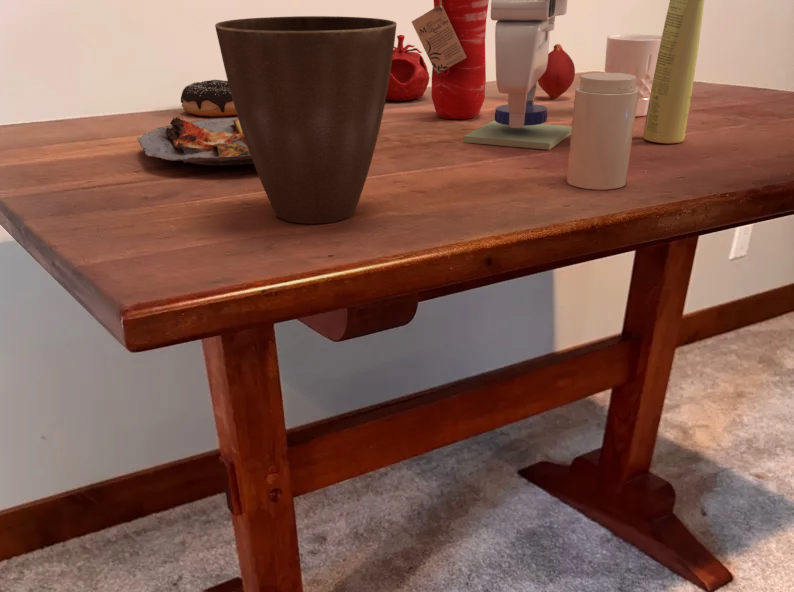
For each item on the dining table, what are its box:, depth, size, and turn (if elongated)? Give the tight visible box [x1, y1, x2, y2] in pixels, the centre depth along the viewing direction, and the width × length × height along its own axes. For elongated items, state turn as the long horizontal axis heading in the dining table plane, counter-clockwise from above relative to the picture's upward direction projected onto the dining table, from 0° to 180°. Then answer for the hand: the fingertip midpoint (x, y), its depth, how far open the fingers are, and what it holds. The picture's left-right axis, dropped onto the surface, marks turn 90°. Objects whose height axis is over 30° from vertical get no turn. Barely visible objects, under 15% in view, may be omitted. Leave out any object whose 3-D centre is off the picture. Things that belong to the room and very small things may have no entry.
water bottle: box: [411, 0, 490, 120], centre depth 107 cm, size 12×8×25 cm, turn 135°
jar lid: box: [494, 103, 549, 126], centre depth 100 cm, size 6×6×2 cm
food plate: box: [136, 116, 254, 166], centre depth 95 cm, size 25×23×4 cm
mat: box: [463, 119, 572, 151], centre depth 101 cm, size 11×11×1 cm
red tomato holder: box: [385, 34, 430, 102], centre depth 126 cm, size 10×10×9 cm
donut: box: [180, 79, 237, 118], centre depth 119 cm, size 11×12×4 cm
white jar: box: [565, 71, 639, 191], centre depth 80 cm, size 6×6×10 cm
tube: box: [642, 0, 705, 144], centre depth 94 cm, size 6×5×20 cm
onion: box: [537, 43, 576, 100], centre depth 124 cm, size 6×6×8 cm
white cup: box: [604, 33, 662, 118], centre depth 113 cm, size 8×8×10 cm
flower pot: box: [214, 15, 398, 225], centre depth 70 cm, size 15×15×16 cm
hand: (521, 121), depth 101 cm, fingers closed on jar lid, 6 cm apart
